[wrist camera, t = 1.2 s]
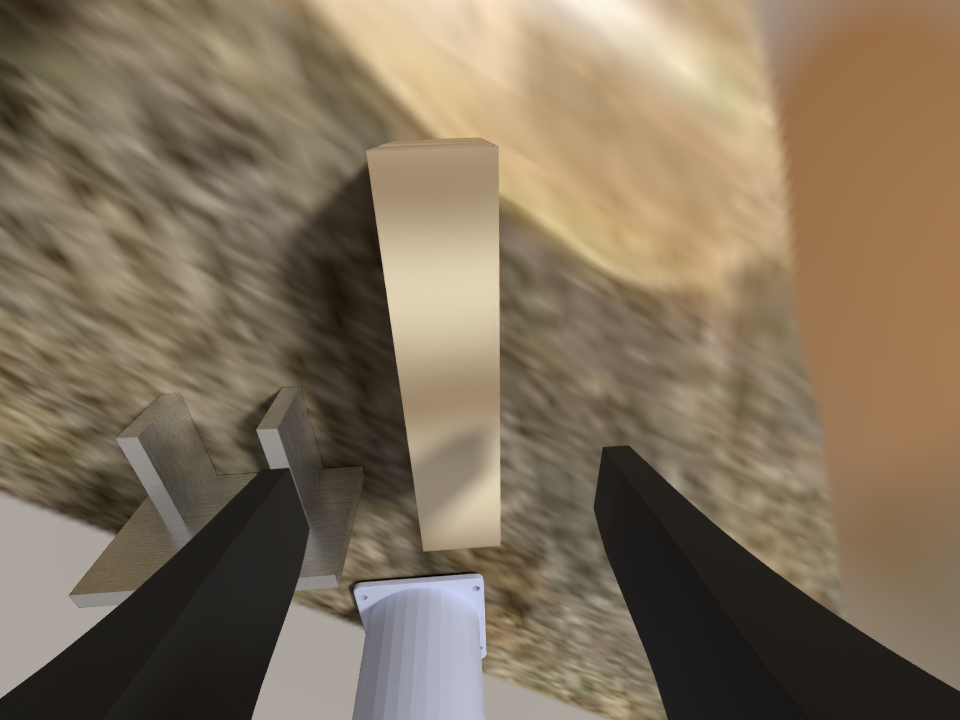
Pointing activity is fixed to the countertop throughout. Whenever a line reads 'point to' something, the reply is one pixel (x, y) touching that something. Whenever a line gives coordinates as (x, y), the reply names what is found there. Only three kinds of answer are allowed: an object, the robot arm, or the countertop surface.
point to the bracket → (218, 496)
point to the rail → (445, 326)
